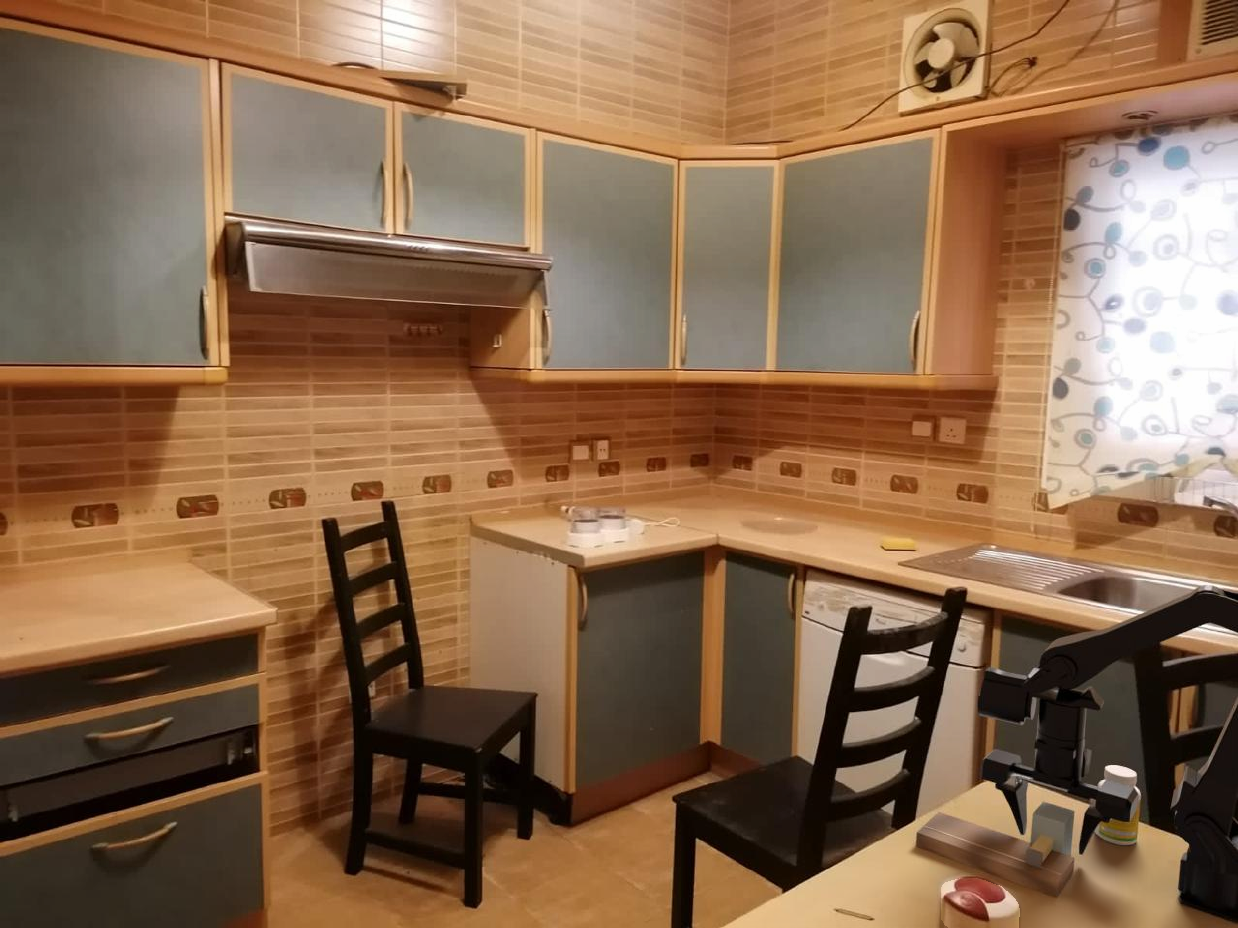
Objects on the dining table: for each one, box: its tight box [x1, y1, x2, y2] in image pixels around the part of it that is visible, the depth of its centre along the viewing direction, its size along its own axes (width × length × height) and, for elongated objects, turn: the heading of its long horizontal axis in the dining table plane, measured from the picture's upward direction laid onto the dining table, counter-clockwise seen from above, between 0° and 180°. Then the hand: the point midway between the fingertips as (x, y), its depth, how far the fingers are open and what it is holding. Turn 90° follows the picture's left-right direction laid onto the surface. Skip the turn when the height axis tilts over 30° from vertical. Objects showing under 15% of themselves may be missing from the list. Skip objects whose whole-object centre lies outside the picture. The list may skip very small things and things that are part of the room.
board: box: [915, 811, 1075, 898], centre depth 121 cm, size 18×8×2 cm, turn 50°
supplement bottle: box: [1094, 764, 1142, 846], centre depth 127 cm, size 5×5×10 cm
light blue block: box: [1025, 801, 1076, 868], centre depth 120 cm, size 4×11×6 cm, turn 140°
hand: (1051, 843), depth 122 cm, fingers open, 7 cm apart
